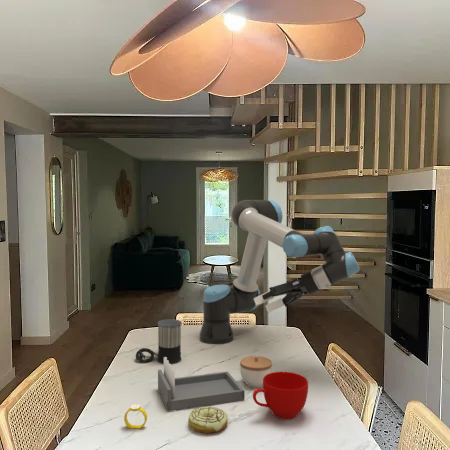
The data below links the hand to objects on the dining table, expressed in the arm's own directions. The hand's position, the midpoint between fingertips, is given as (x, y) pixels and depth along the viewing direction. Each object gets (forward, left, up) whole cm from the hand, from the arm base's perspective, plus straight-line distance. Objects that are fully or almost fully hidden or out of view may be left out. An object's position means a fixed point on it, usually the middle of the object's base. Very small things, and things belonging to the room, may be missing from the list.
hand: (261, 305), depth 157 cm
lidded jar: (+9, -6, -24) cm, 27 cm away
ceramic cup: (+31, -8, -24) cm, 40 cm away
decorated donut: (+30, -29, -25) cm, 48 cm away
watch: (+25, -48, -24) cm, 59 cm away
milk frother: (-23, -33, -24) cm, 47 cm away
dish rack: (+11, -26, -24) cm, 37 cm away
